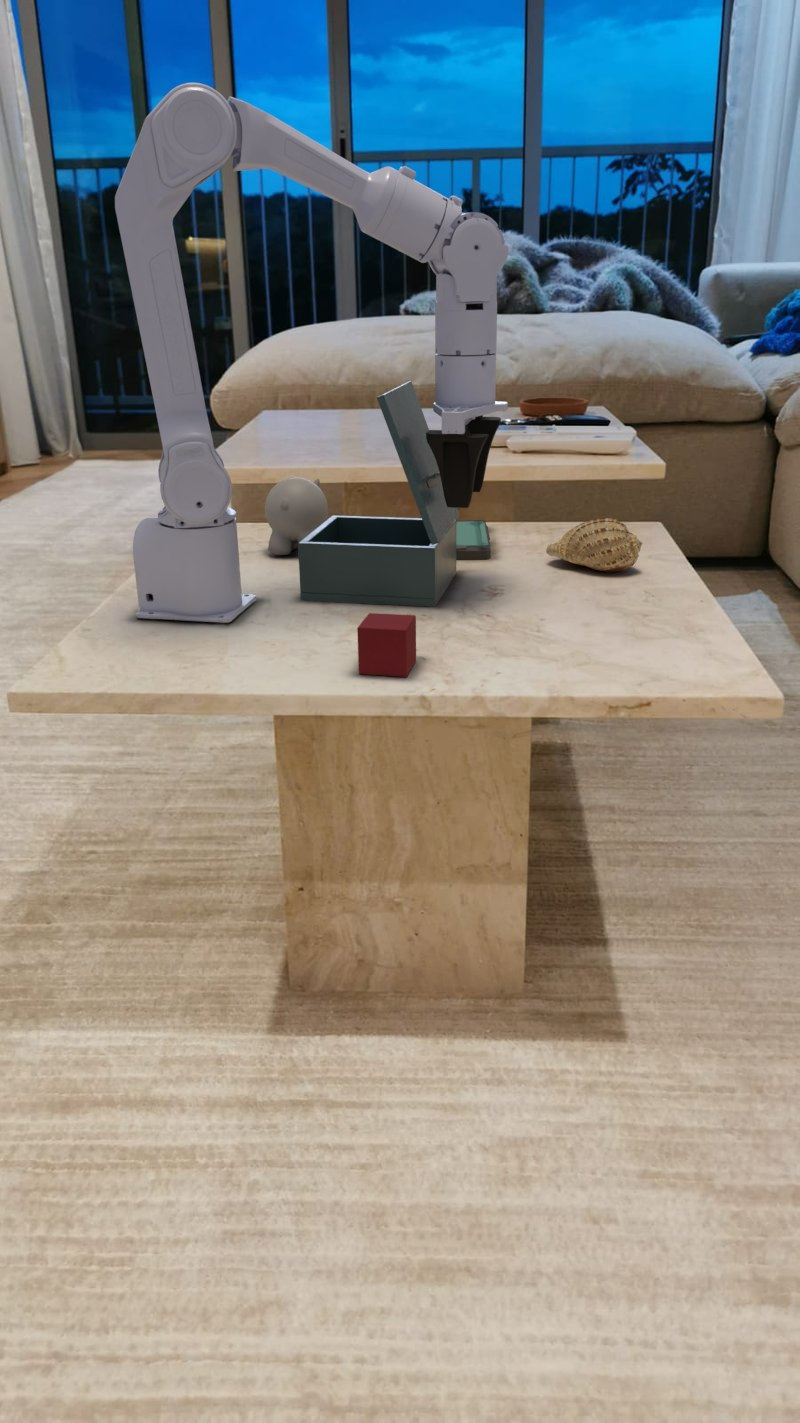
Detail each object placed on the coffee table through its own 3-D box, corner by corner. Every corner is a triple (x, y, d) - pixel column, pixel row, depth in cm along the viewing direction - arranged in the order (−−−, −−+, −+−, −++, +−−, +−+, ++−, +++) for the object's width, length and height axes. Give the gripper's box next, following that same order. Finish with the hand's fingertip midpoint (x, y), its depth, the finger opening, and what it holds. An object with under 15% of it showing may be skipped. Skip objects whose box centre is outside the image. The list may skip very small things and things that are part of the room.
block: (358, 674, 87) (357, 627, 86) (370, 657, 91) (368, 612, 89) (406, 677, 86) (406, 630, 85) (416, 660, 90) (416, 615, 88)
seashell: (560, 601, 115) (649, 565, 111) (537, 550, 113) (628, 512, 110) (564, 581, 122) (648, 546, 118) (543, 533, 120) (628, 497, 117)
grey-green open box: (300, 600, 107) (297, 543, 104) (334, 567, 118) (332, 515, 116) (435, 607, 104) (435, 548, 102) (456, 572, 115) (456, 519, 113)
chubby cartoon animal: (343, 535, 132) (340, 465, 129) (322, 560, 121) (318, 484, 118) (286, 534, 133) (282, 464, 130) (260, 558, 122) (255, 483, 119)
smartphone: (426, 549, 120) (427, 518, 134) (427, 560, 121) (427, 528, 134) (492, 548, 120) (487, 518, 134) (492, 559, 120) (486, 528, 134)
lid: (376, 397, 97) (424, 378, 96) (405, 383, 109) (448, 365, 107) (431, 545, 102) (478, 529, 100) (453, 516, 113) (496, 501, 111)
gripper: (498, 360, 93) (495, 515, 98) (517, 348, 106) (513, 485, 111) (418, 360, 94) (419, 513, 100) (446, 348, 108) (446, 484, 113)
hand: (464, 498), depth 106 cm, fingers open, 7 cm apart
